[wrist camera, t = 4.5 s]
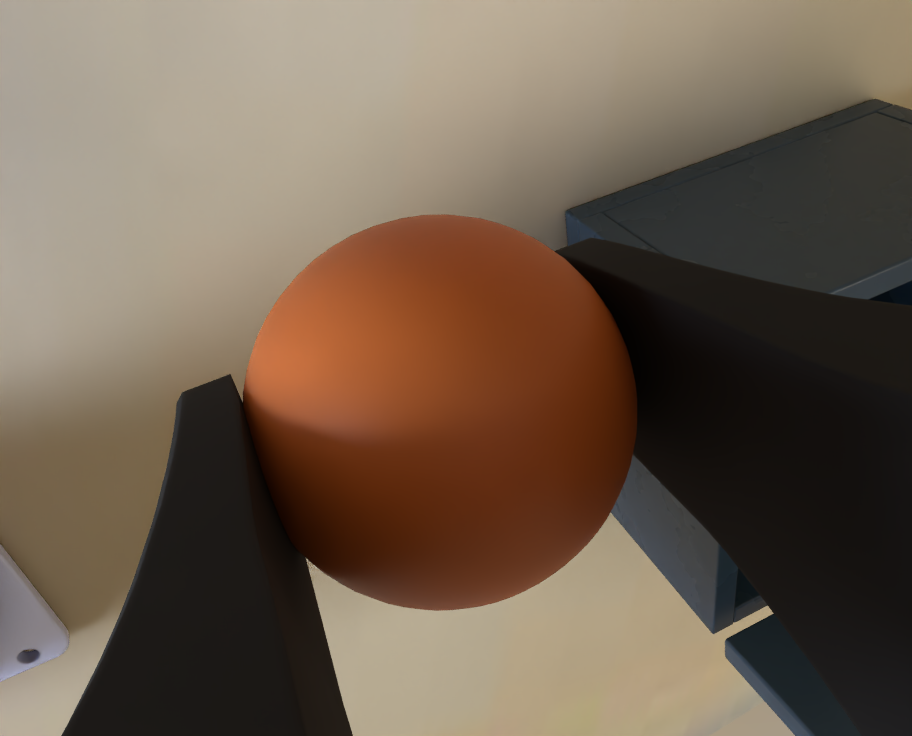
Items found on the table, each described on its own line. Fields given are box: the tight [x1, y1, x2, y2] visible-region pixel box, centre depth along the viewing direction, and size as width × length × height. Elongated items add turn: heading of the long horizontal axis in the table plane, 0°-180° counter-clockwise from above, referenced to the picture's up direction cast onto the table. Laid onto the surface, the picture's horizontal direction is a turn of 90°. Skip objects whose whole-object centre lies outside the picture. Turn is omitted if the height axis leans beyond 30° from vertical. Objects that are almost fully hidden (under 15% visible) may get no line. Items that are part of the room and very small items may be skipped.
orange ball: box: [243, 215, 637, 610], centre depth 10 cm, size 5×5×5 cm
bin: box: [565, 99, 912, 634], centre depth 23 cm, size 10×10×7 cm
